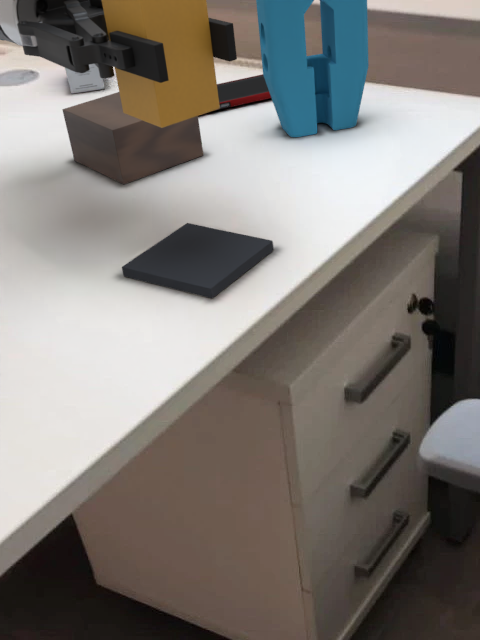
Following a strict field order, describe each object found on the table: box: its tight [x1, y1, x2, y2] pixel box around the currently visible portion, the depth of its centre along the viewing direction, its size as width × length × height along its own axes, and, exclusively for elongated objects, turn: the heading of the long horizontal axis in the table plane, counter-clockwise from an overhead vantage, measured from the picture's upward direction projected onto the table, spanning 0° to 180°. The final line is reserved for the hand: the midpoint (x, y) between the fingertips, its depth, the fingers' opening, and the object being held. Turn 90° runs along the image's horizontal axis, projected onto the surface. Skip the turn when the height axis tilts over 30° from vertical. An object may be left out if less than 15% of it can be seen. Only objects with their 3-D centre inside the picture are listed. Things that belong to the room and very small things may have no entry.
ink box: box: [64, 64, 105, 94], centre depth 125 cm, size 9×5×12 cm, turn 13°
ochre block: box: [102, 0, 220, 128], centre depth 72 cm, size 6×6×10 cm
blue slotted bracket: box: [255, 0, 370, 138], centre depth 102 cm, size 12×5×20 cm, turn 107°
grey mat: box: [121, 222, 275, 299], centre depth 81 cm, size 10×10×1 cm
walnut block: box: [61, 91, 204, 185], centre depth 102 cm, size 11×11×6 cm
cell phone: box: [215, 73, 272, 111], centre depth 118 cm, size 8×15×1 cm, turn 116°
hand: (197, 52), depth 69 cm, fingers closed on ochre block, 6 cm apart
